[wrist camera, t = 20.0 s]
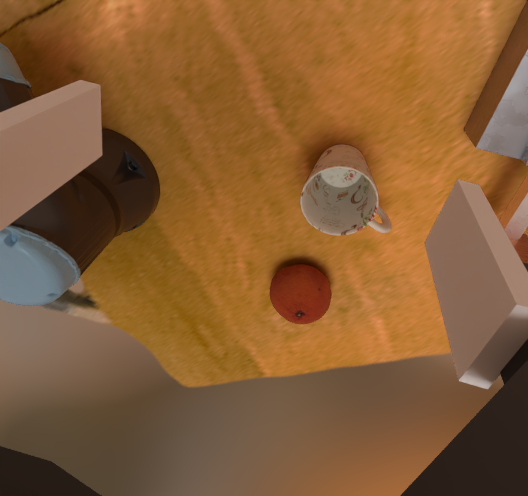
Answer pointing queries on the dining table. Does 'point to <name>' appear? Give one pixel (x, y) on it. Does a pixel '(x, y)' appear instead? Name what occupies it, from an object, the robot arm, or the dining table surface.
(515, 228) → the lock bar
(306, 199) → the mug
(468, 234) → the robot arm
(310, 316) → the fruit
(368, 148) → the dining table surface
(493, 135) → the mount
